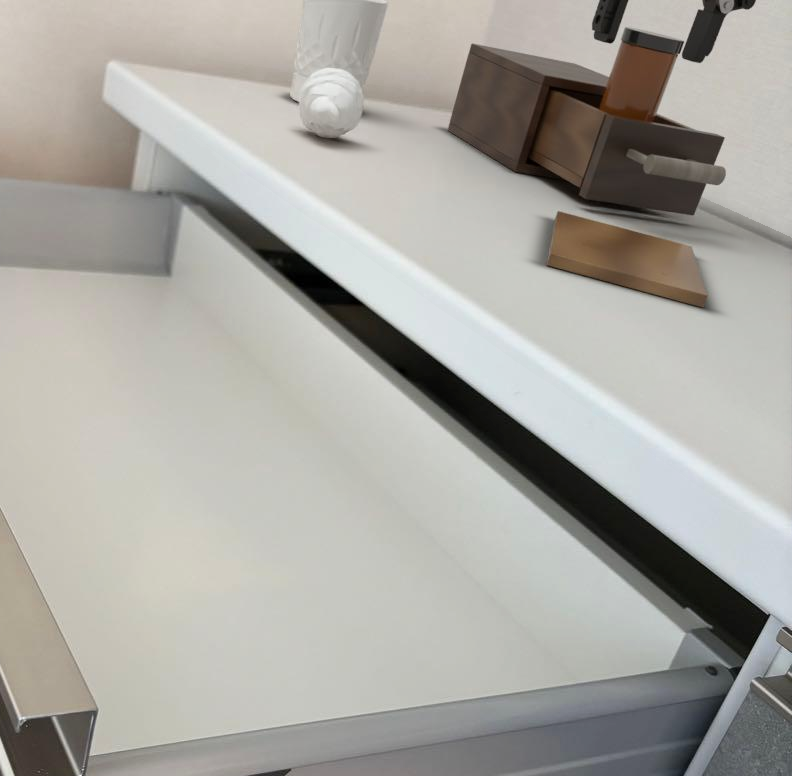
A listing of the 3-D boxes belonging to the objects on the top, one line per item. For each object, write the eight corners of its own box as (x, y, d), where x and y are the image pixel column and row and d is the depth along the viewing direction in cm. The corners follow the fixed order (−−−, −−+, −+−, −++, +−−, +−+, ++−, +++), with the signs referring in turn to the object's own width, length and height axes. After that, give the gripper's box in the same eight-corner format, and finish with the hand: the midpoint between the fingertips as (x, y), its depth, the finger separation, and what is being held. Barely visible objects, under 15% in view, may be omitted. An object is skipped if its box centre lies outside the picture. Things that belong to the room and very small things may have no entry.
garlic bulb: (288, 139, 89) (302, 68, 86) (293, 126, 94) (307, 59, 91) (353, 153, 89) (370, 83, 86) (355, 140, 94) (370, 73, 91)
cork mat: (687, 256, 81) (691, 246, 80) (702, 307, 69) (708, 295, 68) (554, 221, 82) (557, 210, 82) (546, 265, 70) (550, 253, 70)
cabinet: (626, 189, 100) (660, 96, 96) (514, 172, 96) (544, 74, 92) (548, 147, 113) (575, 63, 108) (447, 130, 109) (471, 43, 105)
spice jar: (632, 175, 95) (682, 39, 90) (634, 184, 91) (686, 42, 85) (578, 161, 96) (624, 25, 90) (577, 169, 92) (625, 28, 86)
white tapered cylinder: (269, 95, 106) (291, -19, 101) (308, 92, 112) (330, -15, 107) (340, 117, 103) (366, 1, 98) (375, 113, 109) (401, 4, 104)
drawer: (724, 232, 87) (758, 151, 84) (612, 215, 84) (643, 130, 80) (606, 169, 102) (631, 98, 99) (508, 153, 99) (530, 79, 96)
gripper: (680, -210, 75) (595, 43, 83) (842, -160, 79) (747, 76, 88) (623, -208, 81) (549, 27, 89) (777, -162, 85) (694, 58, 94)
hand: (647, 51), depth 88 cm, fingers open, 8 cm apart
